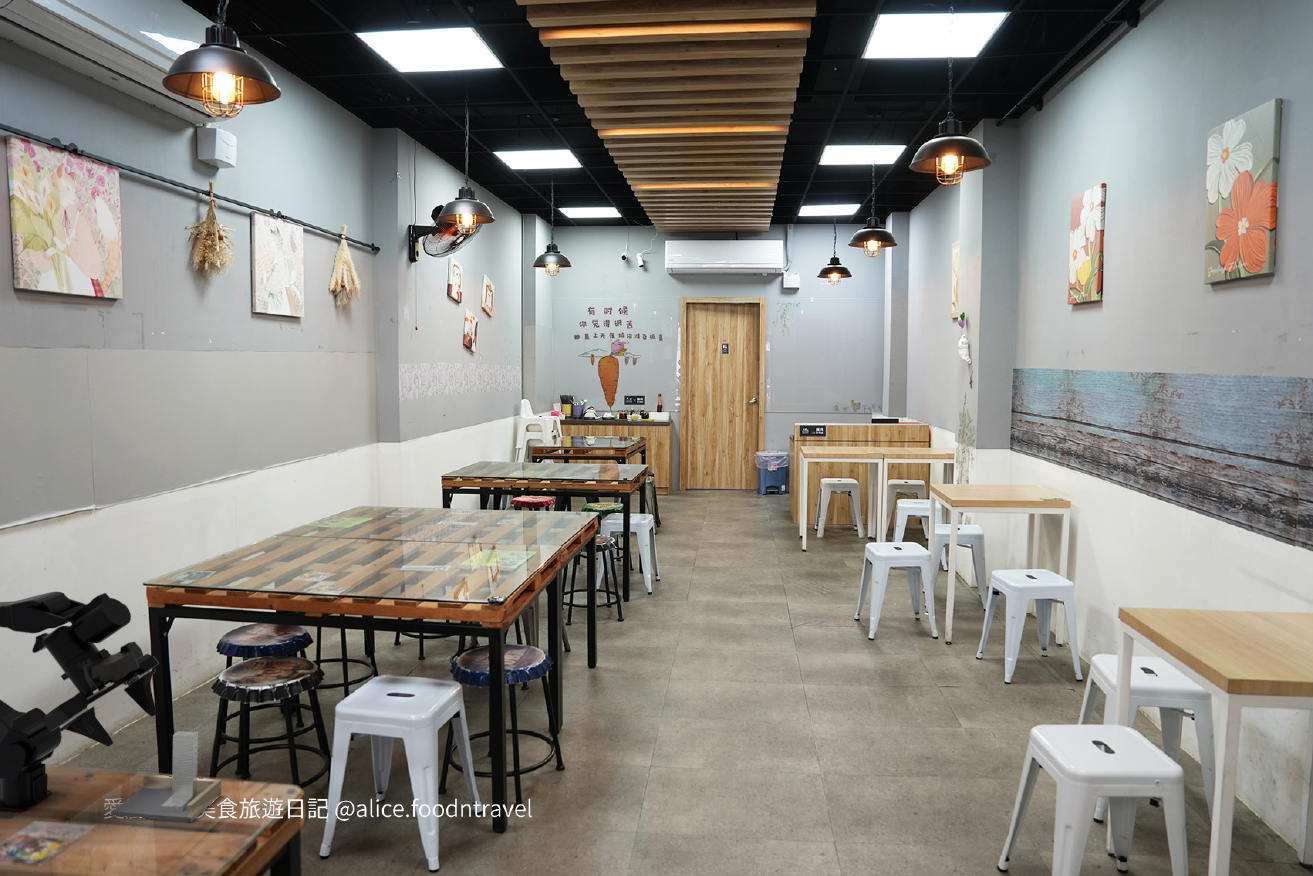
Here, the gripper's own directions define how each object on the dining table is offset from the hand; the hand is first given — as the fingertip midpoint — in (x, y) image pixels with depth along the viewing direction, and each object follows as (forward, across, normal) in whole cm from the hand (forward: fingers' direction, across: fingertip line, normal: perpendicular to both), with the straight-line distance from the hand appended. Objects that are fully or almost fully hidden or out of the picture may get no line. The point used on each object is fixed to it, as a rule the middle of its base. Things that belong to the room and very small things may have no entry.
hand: (133, 729), depth 143 cm
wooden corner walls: (+14, 0, +4) cm, 15 cm away
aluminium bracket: (+15, -1, +1) cm, 15 cm away
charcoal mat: (+14, 0, +4) cm, 15 cm away
